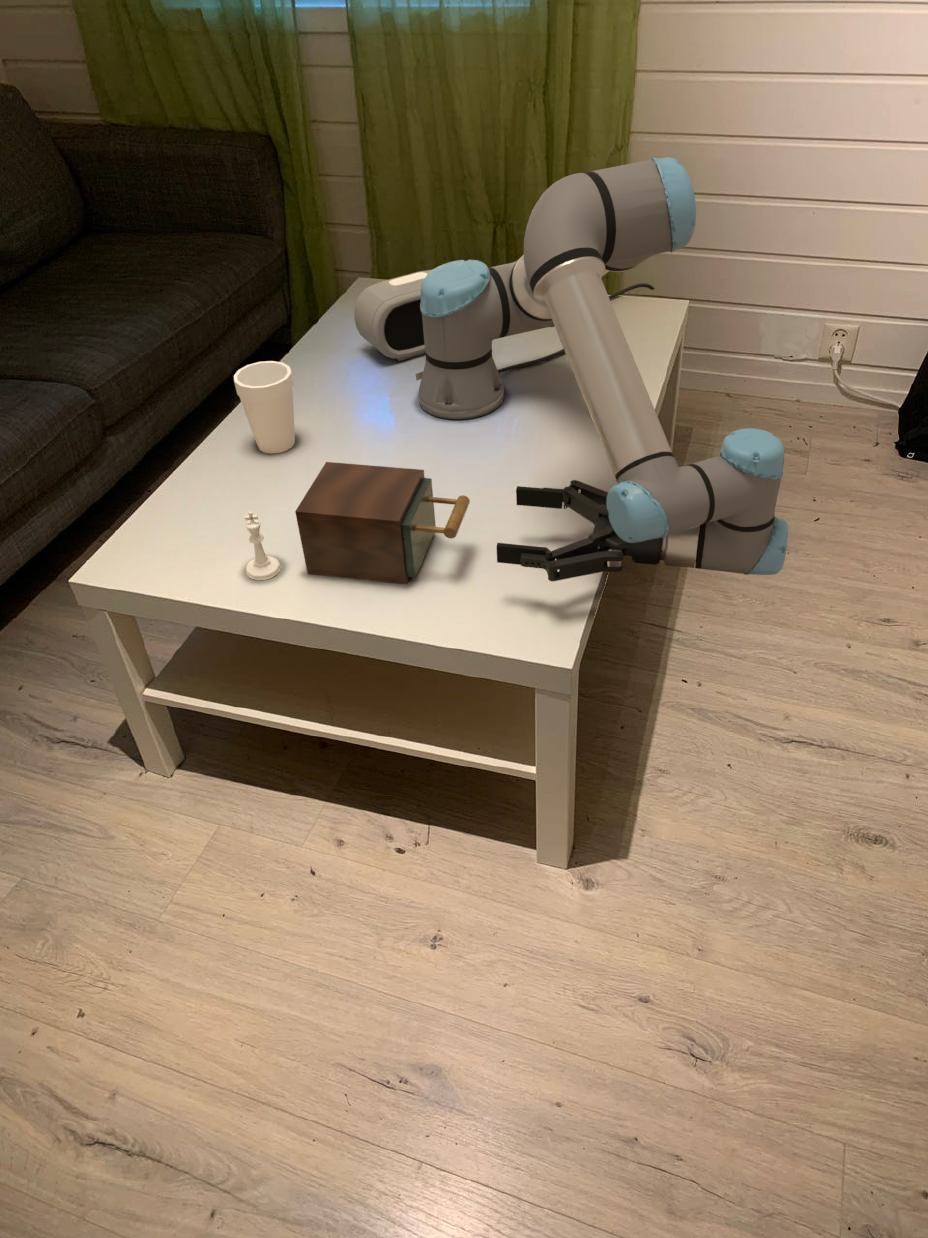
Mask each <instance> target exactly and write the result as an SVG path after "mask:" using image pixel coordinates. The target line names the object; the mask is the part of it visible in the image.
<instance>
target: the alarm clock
mask: <svg viewBox="0 0 928 1238" xmlns="http://www.w3.org/2000/svg"><path fill="white" fill-rule="evenodd" d="M432 270H433V269H427V270H421V271H416V272H412V273H409V274H405V275H401V276H397V277H393V278H390V279H387V280H383V281H379V282H376V283H375V284H371V285H369V286H367V287H365V288H364V289H363V291H362V292H360V294H359V295H358V297H357V299H356V301H355V305H354V309H353V311H354V312H353V313H354V322H355V328H356V330H357V332H358V334H359V335H360V336H361V337H362V338H363V339H364V340H365V341H366V342H368V343H369V344H370V345H371V346H373V348H375V349H376V350H377V351H379V352H380V353H381V354H382V355H383V356H385V357H387V358H390V359H393V360H394V359H395V360H397V361H398V362H401V361H404V360H407V359H410V358H414V357H418V356H421V355H424V354H425V344H424V333H423V321H422V312H421V310H420V302H421V284H422V281H423V280H424V278H425V277H426V276H427V274H428V273H429V272H431V271H432Z"/></svg>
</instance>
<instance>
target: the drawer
mask: <svg viewBox="0 0 928 1238" xmlns="http://www.w3.org/2000/svg"><path fill="white" fill-rule="evenodd" d="M432 480H433V479H432V478H431V477H425V478H423V480H422V482H421V484H420V486H419V488H418V491H417V493H416V495H415V497H414V498H413V500H412V502H411V504H410V506H409V508H408V510H407V512H406V514H405V516H404V518H403V521H402V524H401V527H402V536H403V544H404V553H405V561H406V570H407V576H410V577H409V578H411V577H412V578H416V576H417V574H418V571H419V570H420V567H421V565H422V562H423V560H424V558H425V555H426V554H427V551H428V548H429V546H430V545H431V542H432V539H433V537H434V535H435V534H442V535H444V536H445V537H446V538H447V539H452V540H453V539H455V538H456V537H457V535H458V533H459V530H460V527H461V525H462V522H463V520H464V518H465V515H466V513H467V510H468V508H469V505H470V502H471V500H470V498H469V497H468V496H466V495H459V496H458V497H457V498H447V497H437V496H434V493H433V492H434V491H433V481H432ZM435 504H443V505H454V506H453V508H452V511H451V513H450V515H449V518H448V520H447V522H446V525H445V527H439V526H437V525H436V514H435Z"/></svg>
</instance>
